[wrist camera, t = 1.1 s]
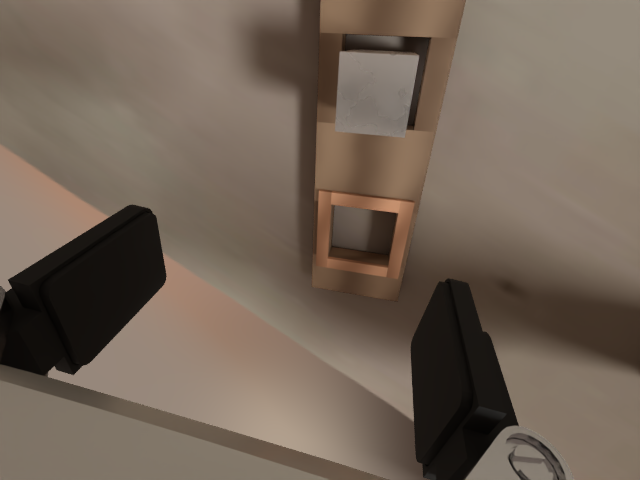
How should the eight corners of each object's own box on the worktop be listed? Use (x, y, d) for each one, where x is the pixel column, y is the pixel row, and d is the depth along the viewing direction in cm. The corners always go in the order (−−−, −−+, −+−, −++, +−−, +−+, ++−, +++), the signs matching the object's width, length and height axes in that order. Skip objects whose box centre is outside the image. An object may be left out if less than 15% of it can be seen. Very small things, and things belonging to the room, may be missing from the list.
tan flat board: (471, -44, 22) (479, -53, 20) (397, 290, 38) (397, 304, 36) (327, -45, 23) (321, -53, 21) (315, 276, 39) (310, 288, 37)
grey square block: (413, 52, 25) (419, 55, 18) (403, 112, 27) (404, 137, 20) (357, 49, 26) (339, 51, 18) (352, 108, 28) (334, 131, 21)
